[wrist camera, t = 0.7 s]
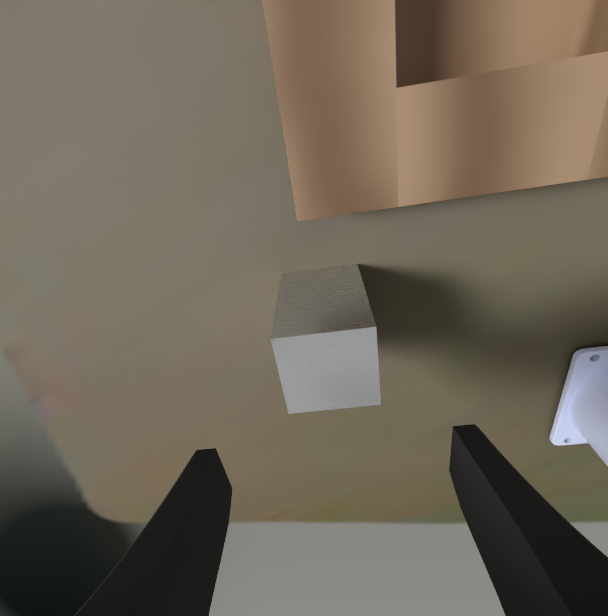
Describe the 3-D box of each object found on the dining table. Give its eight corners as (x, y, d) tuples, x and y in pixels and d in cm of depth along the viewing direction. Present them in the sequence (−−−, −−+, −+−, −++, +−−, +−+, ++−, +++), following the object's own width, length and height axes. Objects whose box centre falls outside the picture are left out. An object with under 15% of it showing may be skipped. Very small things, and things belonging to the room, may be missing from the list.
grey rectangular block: (357, 263, 18) (376, 326, 13) (362, 327, 20) (380, 404, 15) (281, 273, 19) (270, 338, 14) (293, 335, 21) (288, 413, 15)
